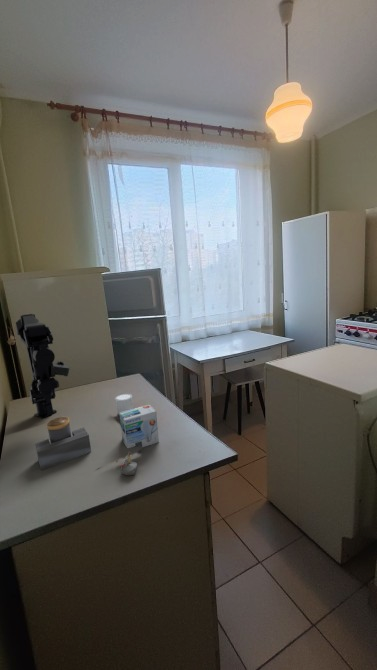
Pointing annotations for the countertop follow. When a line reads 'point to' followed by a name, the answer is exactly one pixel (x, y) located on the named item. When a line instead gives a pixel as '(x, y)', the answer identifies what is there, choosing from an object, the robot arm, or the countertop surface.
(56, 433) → the gray cup
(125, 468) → the figurine
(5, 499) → the countertop surface
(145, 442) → the light bulb box
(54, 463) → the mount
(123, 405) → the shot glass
